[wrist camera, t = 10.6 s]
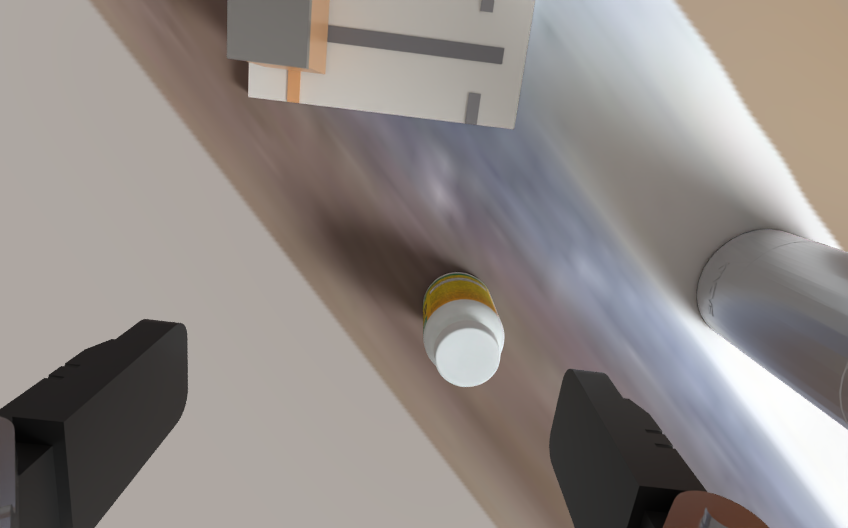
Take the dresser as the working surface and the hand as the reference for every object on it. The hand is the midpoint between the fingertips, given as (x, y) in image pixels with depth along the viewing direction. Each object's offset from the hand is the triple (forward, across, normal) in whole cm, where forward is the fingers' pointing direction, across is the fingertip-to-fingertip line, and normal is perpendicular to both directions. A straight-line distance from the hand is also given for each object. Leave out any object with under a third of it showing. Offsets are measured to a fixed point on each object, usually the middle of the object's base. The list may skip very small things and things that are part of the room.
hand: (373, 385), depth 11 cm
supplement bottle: (+28, -5, +8) cm, 30 cm away
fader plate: (+28, +2, -10) cm, 30 cm away
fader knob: (+26, +8, -10) cm, 29 cm away
